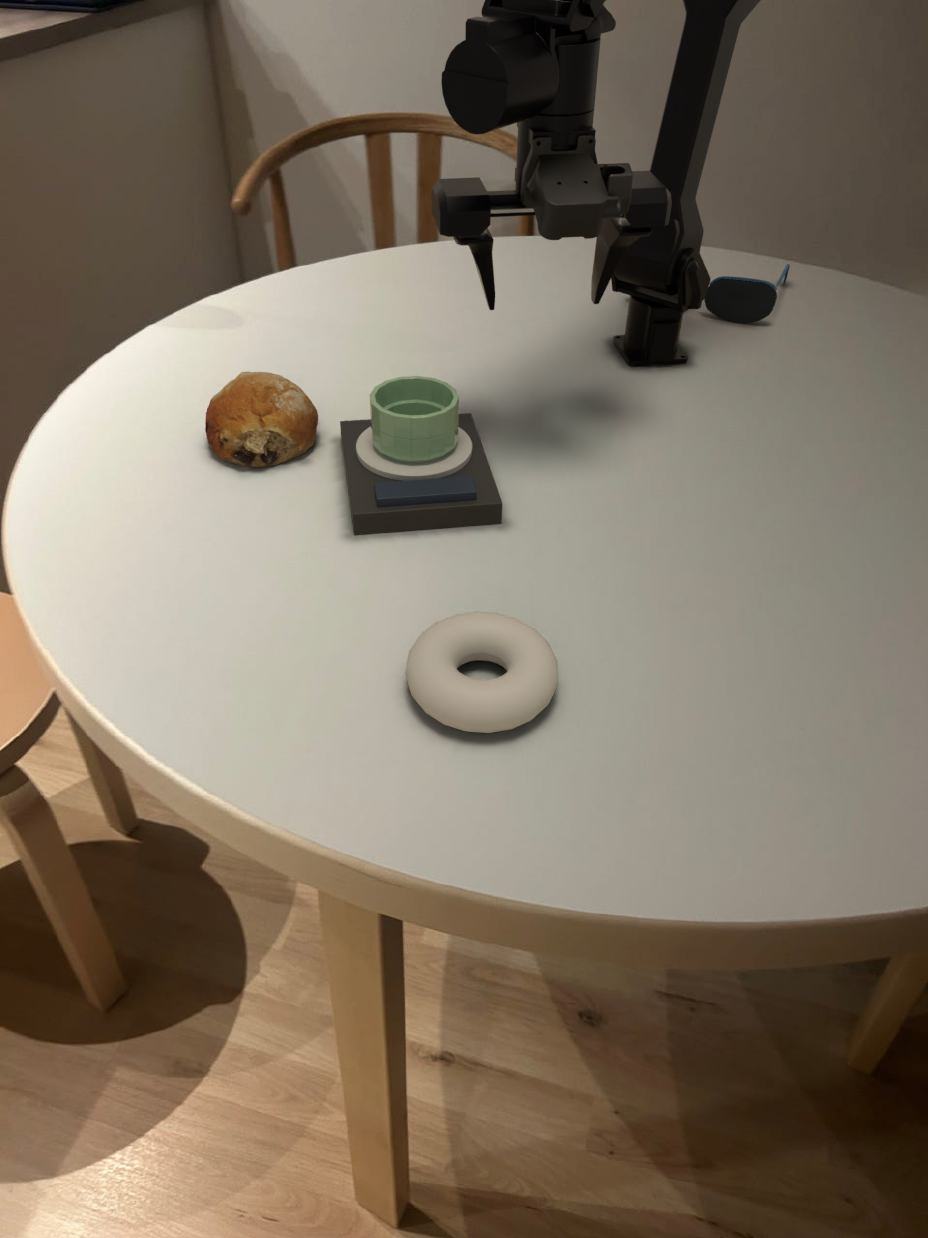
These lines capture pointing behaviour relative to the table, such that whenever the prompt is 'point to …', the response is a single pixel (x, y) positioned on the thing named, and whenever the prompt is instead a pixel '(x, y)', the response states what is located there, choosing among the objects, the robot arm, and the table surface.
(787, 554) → the table surface
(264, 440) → the bread roll
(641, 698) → the table surface
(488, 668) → the table surface
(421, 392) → the bowl
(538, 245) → the table surface
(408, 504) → the scale
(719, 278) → the sunglasses
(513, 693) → the donut
